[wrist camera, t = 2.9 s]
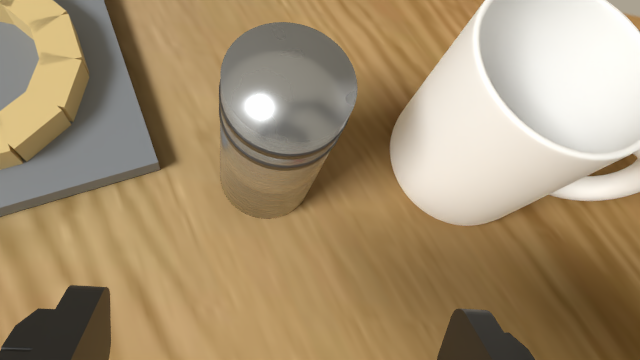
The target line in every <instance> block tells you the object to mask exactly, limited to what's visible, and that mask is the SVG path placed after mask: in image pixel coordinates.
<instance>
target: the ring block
mask: <svg viewBox="0 0 640 360" xmlns="http://www.w3.org/2000/svg"><path fill="white" fill-rule="evenodd" d="M157 170H161V169H160V166H159V163H158V160H157V157H156V154H155V151H154V148H153V145H152V142H151V139H150V136H149V133H148V130H147V127H146V124H145V121H144V118H143V115H142V112H141V109H140V107H139V104H138V101H137V98H136V95H135V92H134V89H133V86H132V83H131V80H130V77H129V74H128V71H127V68H126V65H125V62H124V59H123V56H122V53H121V50H120V47H119V44H118V41H117V38H116V35H115V32H114V29H113V26H112V23H111V20H110V17H109V14H108V11H107V8H106V6H105V3H104V0H0V217H1V216H4V215H7V214H11V213H14V212H18V211H21V210H24V209H28V208H31V207H35V206H38V205H41V204H45V203H48V202H52V201H55V200H58V199H62V198H65V197H69V196H72V195H75V194H79V193H82V192H86V191H89V190H92V189H96V188H99V187H103V186H106V185H109V184H113V183H116V182H120V181H123V180H127V179H130V178H133V177H137V176H140V175H144V174H147V173H150V172H154V171H157Z"/></svg>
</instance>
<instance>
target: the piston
mask: <svg viewBox="0 0 640 360" xmlns="http://www.w3.org/2000/svg"><path fill="white" fill-rule="evenodd" d="M356 97H357V79H356V75H355V71H354V69H353V66H352V64H351V62H350V60H349V58H348V57H347V55H346V54H345V53H344V51H343V50H342V49H341V48H340V47H339V46H338V45H337V44H336V43H335V42H334V41H333V40H332V39H330V38H329V37H327V36H326V35H325V34H323V33H321V32H319V31H317V30H315V29H313V28H310V27H307V26H304V25H301V24H295V23H286V22H278V23H269V24H264V25H261V26H258V27H255V28H253V29H251V30H249V31H247V32H245V33H244V34H242V35H241V36H240V37H239V38H237V39H236V40H235V42H234V43H233V44H232V45H231V46H230V48H229V49H228V51H227V53H226V55H225V57H224V59H223V63H222V67H221V79H220V85H219V117H220V180H221V185H222V189H223V191H224V193H225V195H226V197H227V198H228V200H229V201H230V202H231V203H232V204H233V205H234V206H235V207H236V208H237V209H239V210H240V211H241V212H243V213H245V214H247V215H250V216H252V217H257V218H264V219H271V218H277V217H281V216H284V215H286V214H288V213H290V212H291V211H293V210H294V209H296V208H297V207H298V206H299V205H300V204H301V203H302V201H303V200H304V198H305V197H306V195H307V193H308V191H309V189H310V187H311V186H312V184H313V182H314V180H315V178H316V176H317V174H318V173H319V171H320V169H321V167H322V165H323V163H324V162H325V160H326V158H327V156H328V154H329V152H330V151H331V150H332V148H333V147H334V146H335V144H336V142H337V140H338V138H339V136H340V134H341V133H342V131H343V129H344V127H345V126H346V124H347V122H348V119H349V116H350V114H351V112H352V110H353V108H354V105H355V102H356Z"/></svg>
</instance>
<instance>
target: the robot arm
mask: <svg viewBox="0 0 640 360" xmlns="http://www.w3.org/2000/svg"><path fill="white" fill-rule="evenodd" d="M110 346H111V326H110V292H109V289H108V288H107V287H92V286H75V285H71V286H69V287H68V289H67V290H66V292H65V293H64V295H63V297H62V299H61V300H60V302H59V304H58V305H57V307H56V309H37V310H36V311H34V312H33V313H32V314H30V315H29V316H28V317H26V318H25V319H24V320H22V321H21V322H20V323H18V324H17V325H16V326H15V327H14V329H13V330H12V332H11V333H10V335H9V336H8V338H7V339H6V341H5V342H4V344H3V345H2V348H1V351H0V360H109V354H110ZM437 360H535V359H534V357H533V356H532V355H531V353H530V352H529V350H528V349H527V348H526V347H525V346H524V345H523V344H521V343H520V342H519V341H518V340H517V339H516V338H514V337H513V336H512V335H511V334H510V333H504V332H503V330H502V329H501V327H500V326H499V324H498V322H497V321H496V319H495V318H494V316H493V315H492V314H491V313H490V312H489V311H487V310H475V309H456V310H455V311H454V312H453V314H452V316H451V319H450V322H449V325H448V328H447V331H446V334H445V336H444V339H443V342H442V345H441V348H440V351H439V354H438V358H437Z"/></svg>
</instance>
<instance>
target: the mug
mask: <svg viewBox="0 0 640 360" xmlns="http://www.w3.org/2000/svg"><path fill="white" fill-rule="evenodd" d="M630 154H634V155H635V156H636V157H637V160H636V161H635V162H634V163H633V164H631V165H630V166H628V167H626V168H624V169H622V170H620V171H617V172H614V173H610V174H606V175H600V176H588V175H590V174H592V173H594V172H596V171H598V170H600V169H602V168H604V167H606V166H608V165H610V164H612V163H614V162H616V161H618V160H620V159H622V158H624V157H626V156H629V155H630ZM390 158H391V164H392V168H393V171H394V174H395V176H396V179H397V181H398V183H399V185H400V186H401V188H402V189H403V191H404V192H405V194H406V195H407V196H408V197H409V199H410V200H411V201H412V202H413V203H414V204H415V205H416V206H418V207H419V208H420V209H421V210H423V211H424V212H426V213H427V214H429V215H430V216H432V217H434V218H436V219H438V220H441V221H444V222H446V223H450V224H454V225H461V226H474V225H480V224H485V223H488V222H491V221H494V220H497V219H499V218H502V217H504V216H506V215H508V214H510V213H512V212H514V211H516V210H518V209H520V208H522V207H524V206H526V205H528V204H530V203H532V202H534V201H537V200H539V199H541V198H543V197H545V196H547V195H551V196H555V197H559V198H563V199H569V200H578V201H601V200H610V199H616V198H621V197H625V196H629V195H632V194H636V193H639V192H640V31H639V30H638V29H637V28H636V27H635V25H634V24H633V23H632V22H631V21H630V20H629V19H628V18H627V17H626V16H625V15H624V14H623V13H622V12H621V11H620V10H618V9H617V8H616V7H615V6H613V5H612V4H611V3H610V2H608V1H607V0H485V1H484V2H483V4H482V5H481V6H480V8H479V9H478V10H477V12H476V13H475V14H474V16H473V17H472V18H471V20H470V21H469V22H468V24H467V25H466V26H465V28H464V29H463V30H462V32H461V33H460V34H459V36H458V37H457V38H456V40H455V41H454V42H453V44H452V45H451V46H450V48H449V49H448V50H447V52H446V53H445V54H444V56H443V57H442V58H441V60H440V61H439V62H438V64H437V65H436V66H435V68H434V69H433V70H432V72H431V73H430V75H429V76H428V77H427V79H426V80H425V81H424V83H423V84H422V85H421V87H420V88H419V89H418V91H417V92H416V93H415V95H414V96H413V97H412V99H411V100H410V101H409V103H408V104H407V105H406V107H405V108H404V110H403V111H402V113H401V114H400V116H399V117H398V119H397V121H396V124H395V126H394V128H393V132H392V135H391V140H390Z"/></svg>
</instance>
